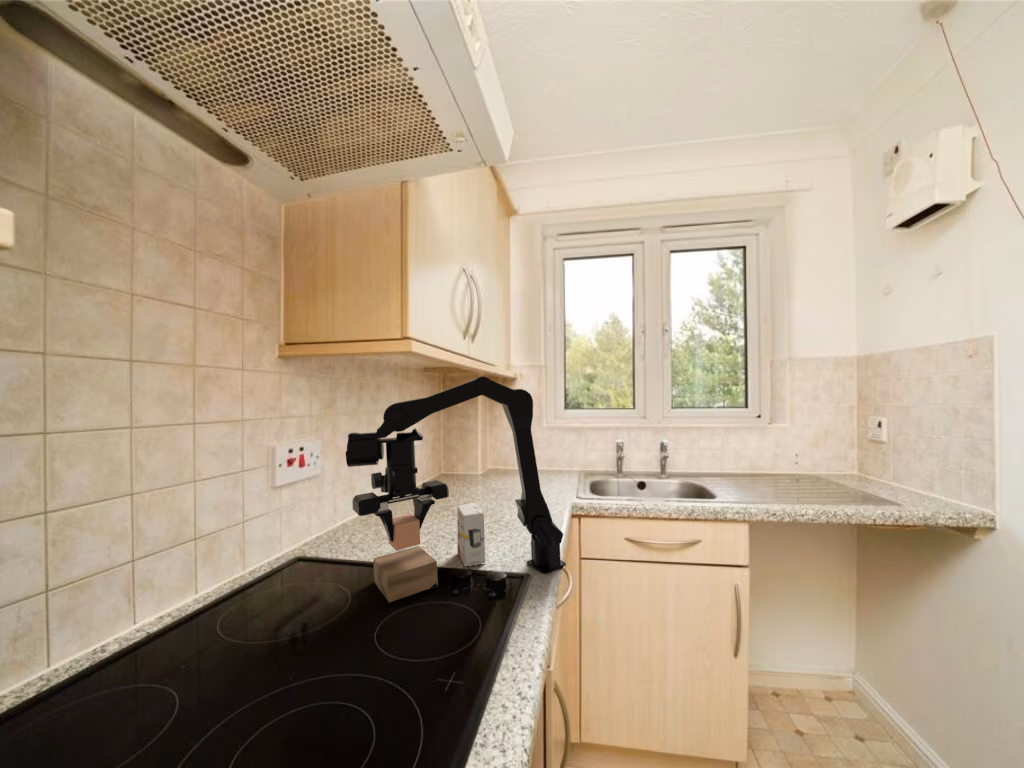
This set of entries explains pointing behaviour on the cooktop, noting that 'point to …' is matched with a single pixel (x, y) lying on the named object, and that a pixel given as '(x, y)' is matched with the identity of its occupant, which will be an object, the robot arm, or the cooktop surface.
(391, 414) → the robot arm
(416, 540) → the terracotta cube
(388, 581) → the walnut block
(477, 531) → the ink box
